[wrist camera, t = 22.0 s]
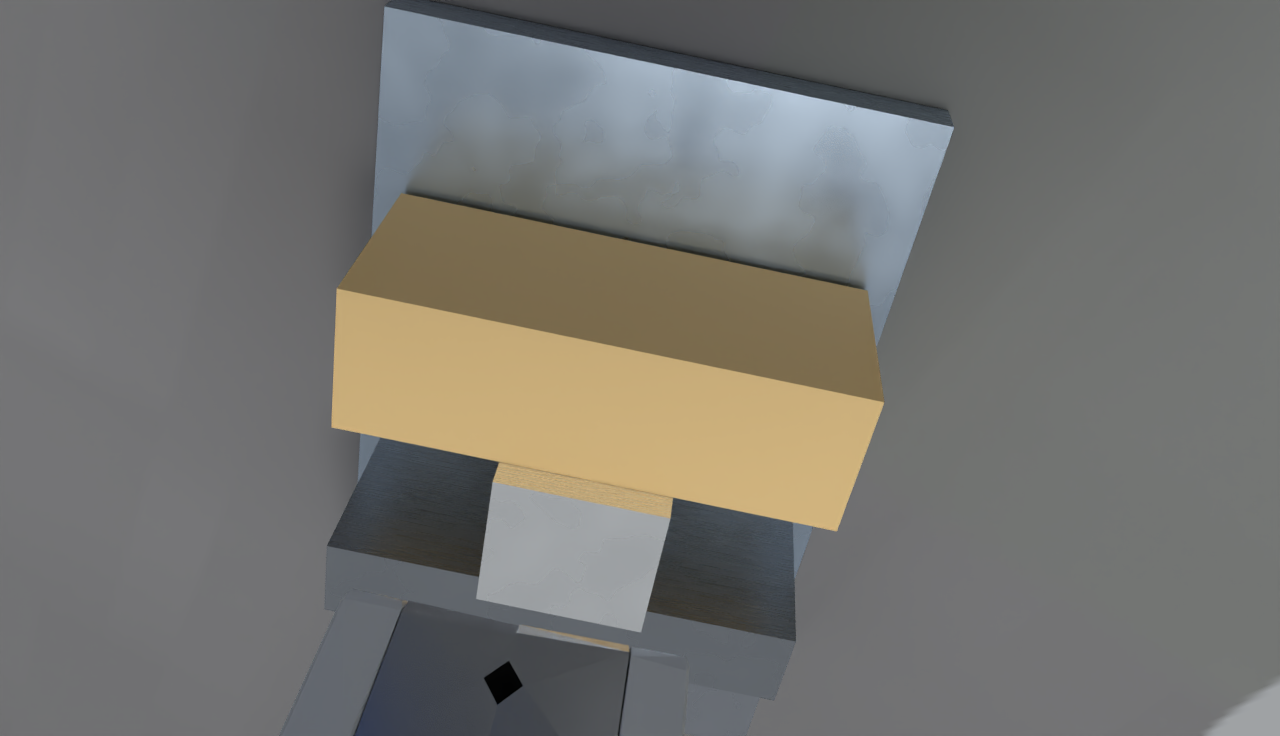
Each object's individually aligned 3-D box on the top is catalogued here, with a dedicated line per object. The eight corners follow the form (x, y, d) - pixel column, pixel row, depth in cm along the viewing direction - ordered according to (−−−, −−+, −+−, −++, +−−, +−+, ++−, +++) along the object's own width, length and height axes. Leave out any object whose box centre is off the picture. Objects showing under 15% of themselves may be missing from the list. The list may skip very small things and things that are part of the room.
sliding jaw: (401, 192, 38) (336, 288, 32) (867, 290, 38) (884, 402, 33) (392, 318, 41) (331, 427, 35) (827, 409, 41) (836, 531, 35)
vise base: (397, -7, 36) (306, 79, 29) (947, 110, 36) (990, 224, 29) (362, 562, 50) (293, 715, 43) (762, 644, 50) (761, 809, 43)
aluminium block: (538, 344, 41) (492, 482, 34) (687, 375, 41) (670, 518, 34) (521, 452, 44) (475, 599, 37) (660, 481, 44) (640, 632, 37)
